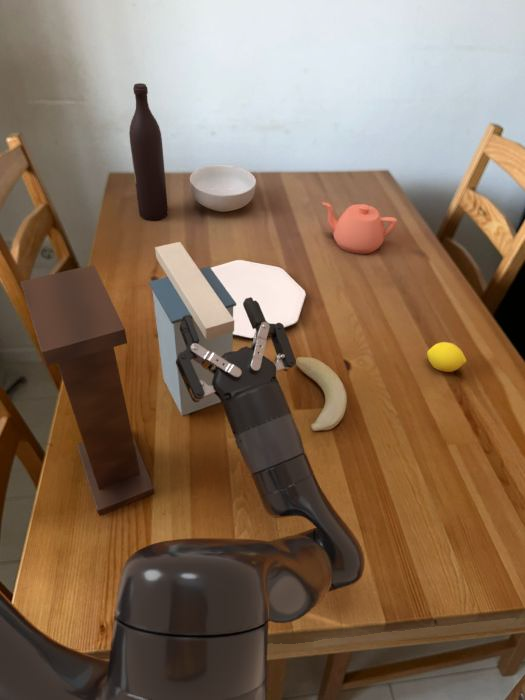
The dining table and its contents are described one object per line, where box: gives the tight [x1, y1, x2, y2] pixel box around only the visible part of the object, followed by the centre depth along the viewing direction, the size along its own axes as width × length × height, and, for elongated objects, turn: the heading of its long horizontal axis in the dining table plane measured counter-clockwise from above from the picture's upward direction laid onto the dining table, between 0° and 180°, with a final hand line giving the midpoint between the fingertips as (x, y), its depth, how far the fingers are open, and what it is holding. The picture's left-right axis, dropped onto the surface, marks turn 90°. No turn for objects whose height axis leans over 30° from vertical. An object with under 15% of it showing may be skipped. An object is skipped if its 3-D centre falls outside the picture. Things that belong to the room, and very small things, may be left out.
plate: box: [210, 259, 307, 340], centre depth 105 cm, size 24×24×2 cm
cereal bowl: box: [189, 164, 257, 213], centre depth 131 cm, size 17×17×7 cm
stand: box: [20, 264, 156, 517], centre depth 65 cm, size 8×12×32 cm, turn 27°
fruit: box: [295, 356, 348, 432], centre depth 87 cm, size 7×15×3 cm, turn 9°
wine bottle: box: [128, 82, 169, 221], centre depth 118 cm, size 7×7×30 cm
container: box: [148, 266, 236, 417], centre depth 81 cm, size 10×10×21 cm
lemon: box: [426, 341, 467, 373], centre depth 93 cm, size 7×5×5 cm
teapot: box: [321, 201, 399, 255], centre depth 121 cm, size 12×18×10 cm
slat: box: [154, 241, 234, 340], centre depth 73 cm, size 4×20×2 cm, turn 27°
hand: (216, 308), depth 65 cm, fingers open, 8 cm apart
